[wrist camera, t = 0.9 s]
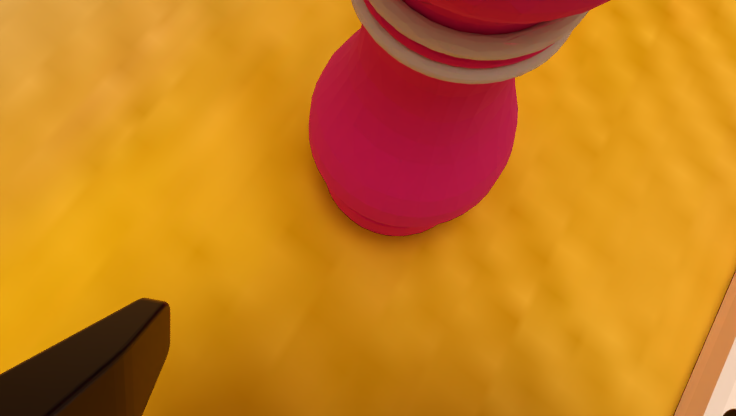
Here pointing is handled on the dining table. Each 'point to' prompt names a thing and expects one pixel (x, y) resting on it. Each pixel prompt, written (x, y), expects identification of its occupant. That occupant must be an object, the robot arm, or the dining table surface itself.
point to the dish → (715, 366)
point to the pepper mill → (428, 104)
